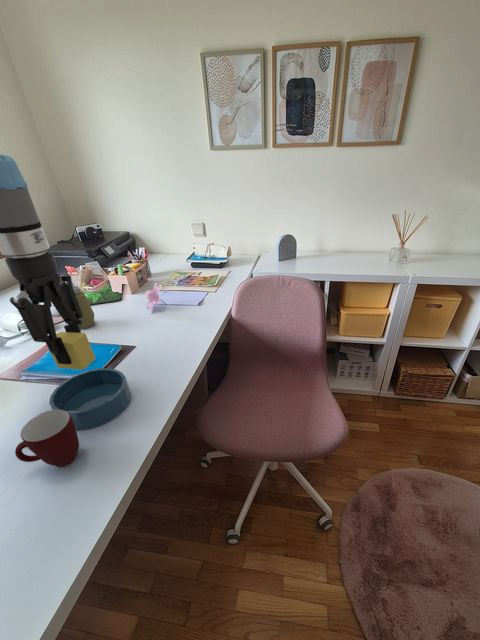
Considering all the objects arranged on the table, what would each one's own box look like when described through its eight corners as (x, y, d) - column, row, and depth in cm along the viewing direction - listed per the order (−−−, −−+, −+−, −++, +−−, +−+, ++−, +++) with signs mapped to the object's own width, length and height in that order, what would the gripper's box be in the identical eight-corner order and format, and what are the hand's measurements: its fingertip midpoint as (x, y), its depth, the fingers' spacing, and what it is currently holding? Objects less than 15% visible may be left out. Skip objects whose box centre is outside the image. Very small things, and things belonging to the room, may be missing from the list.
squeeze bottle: (94, 318, 115) (77, 272, 105) (100, 325, 110) (83, 278, 100) (71, 325, 111) (51, 277, 101) (76, 333, 106) (56, 284, 96)
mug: (28, 491, 56) (2, 456, 50) (28, 460, 61) (4, 426, 56) (90, 463, 61) (72, 428, 55) (85, 437, 66) (68, 403, 61)
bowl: (41, 426, 69) (31, 410, 66) (86, 380, 83) (79, 366, 80) (107, 433, 67) (100, 417, 64) (142, 385, 81) (138, 370, 78)
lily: (150, 303, 128) (135, 288, 121) (174, 291, 127) (160, 275, 119) (151, 322, 121) (136, 308, 114) (177, 310, 120) (162, 294, 112)
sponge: (58, 368, 68) (44, 341, 64) (71, 356, 72) (59, 331, 68) (83, 370, 67) (71, 343, 63) (96, 358, 71) (85, 333, 67)
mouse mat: (121, 300, 128) (121, 298, 128) (64, 309, 122) (63, 306, 122) (123, 280, 150) (123, 278, 149) (74, 286, 144) (74, 284, 143)
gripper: (5, 269, 48) (61, 382, 61) (77, 242, 63) (109, 337, 75) (-35, 267, 49) (28, 379, 62) (44, 241, 63) (82, 336, 76)
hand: (72, 356), depth 69 cm, fingers closed on sponge, 4 cm apart
